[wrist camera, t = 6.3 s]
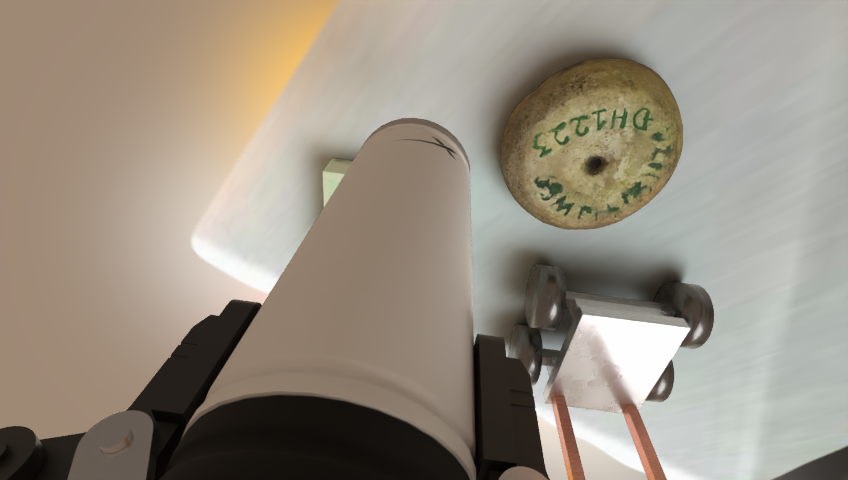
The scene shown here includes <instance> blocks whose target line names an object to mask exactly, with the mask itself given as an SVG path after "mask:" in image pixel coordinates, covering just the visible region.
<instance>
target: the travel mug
mask: <svg viewBox="0 0 848 480" xmlns="http://www.w3.org/2000/svg"><path fill="white" fill-rule="evenodd" d="M475 459H476V433H475V384H474V336H473V287H472V239H471V190H470V165H469V161H468V157H467V155H466V152H465V150H464V148H463V146H462V145H461V144H460V142H459V141H458V140H457V138H456V137H455V136H454V135H453V134H451V133H450V132H449V131H448V130H447V129H445V128H443V127H442V126H440V125H438V124H436V123H434V122H431V121H428V120H424V119H418V118H402V119H398V120H394V121H391V122H389V123H387V124H385V125H383V126H381V127H379V128H378V129H377V130H376V131H374V132H373V133H372V134H371V135H370V136H369V138H368V139H367V140H366V141H365V143H364V144H363V146H362V148H361V149H360V151H359V153H358V154H357V156H356V157H355V159H354V160H353V162H352V164H351V165H350V167H349V168H348V170H347V172H346V173H345V175H344V176H343V178H342V179H341V181H340V183H339V184H338V186H337V187H336V189H335V191H334V192H333V194H332V195H331V197H330V199H329V200H328V202H327V203H326V205H325V206H324V208H323V210H322V211H321V213H320V214H319V216H318V218H317V219H316V221H315V222H314V224H313V226H312V227H311V229H310V230H309V232H308V234H307V235H306V237H305V238H304V240H303V241H302V243H301V245H300V246H299V248H298V249H297V251H296V253H295V254H294V256H293V257H292V259H291V261H290V262H289V264H288V265H287V267H286V268H285V270H284V272H283V273H282V275H281V276H280V278H279V280H278V281H277V283H276V284H275V286H274V288H273V289H272V291H271V292H270V294H269V296H268V297H267V299H266V300H265V302H264V303H263V305H262V307H261V308H260V310H259V311H258V313H257V315H256V316H255V318H254V319H253V321H252V323H251V324H250V326H249V327H248V329H247V330H246V332H245V334H244V335H243V337H242V338H241V340H240V342H239V343H238V345H237V346H236V348H235V350H234V351H233V353H232V354H231V356H230V357H229V359H228V361H227V362H226V364H225V365H224V367H223V369H222V370H221V372H220V373H219V375H218V377H217V378H216V380H215V381H214V383H213V385H212V386H211V388H210V390H209V392H208V394H207V396H206V399H205V401H204V403H203V404H202V405H201V406H200V407H199V408H198V409H197V410H196V412H195V413H194V415H193V416H192V418H191V419H190V421H189V423H188V424H187V426H186V428H185V431H184V433H183V436H182V438H181V441H180V443H179V444H178V446H177V448H176V449H175V451H174V452H173V454H172V456H171V458H170V461H169V463H168V466H167V468H166V471H165V474H164V475H163V476H162V477H161V478H160V479H159V480H476V467H475Z"/></svg>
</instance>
